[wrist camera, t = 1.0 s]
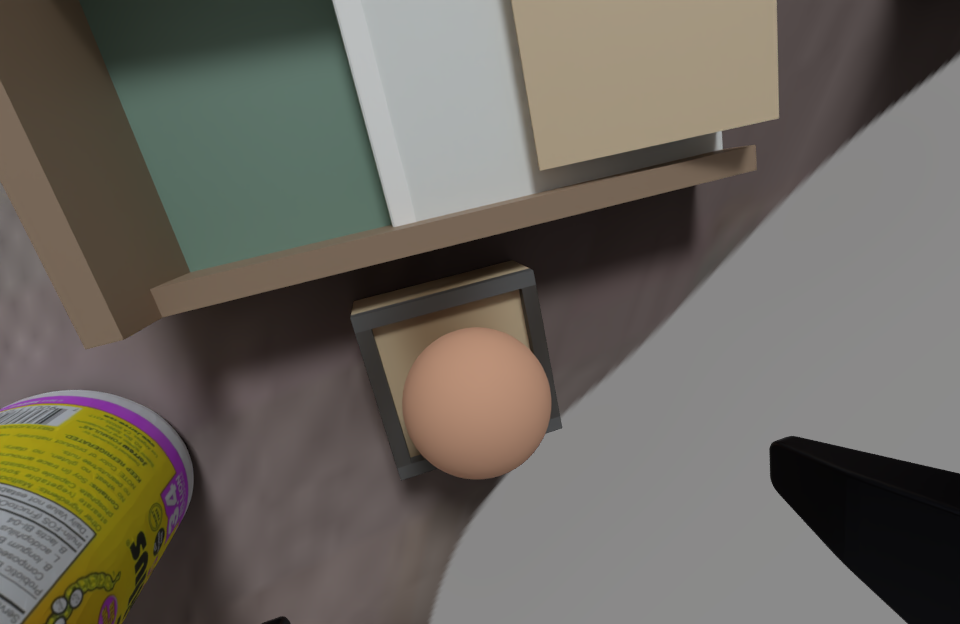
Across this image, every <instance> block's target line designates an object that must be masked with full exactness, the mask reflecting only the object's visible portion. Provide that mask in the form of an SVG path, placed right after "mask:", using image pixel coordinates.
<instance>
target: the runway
mask: <svg viewBox="0 0 960 624" xmlns="http://www.w3.org/2000/svg"><path fill="white" fill-rule="evenodd" d="M777 118H779V97H778V45H777V0H0V181H1V183H2V185H3V187H4V189H5V191H6V193H7V195H8V197H9V199H10V201H11V203H12V205H13V207H14V209H15V211H16V213H17V215H18V217H19V219H20V221H21V223H22V225H23V227H24V229H25V231H26V233H27V235H28V237H29V238H30V240H31V242H32V244H33V246H34V248H35V250H36V252H37V254H38V256H39V258H40V260H41V262H42V264H43V266H44V268H45V270H46V272H47V274H48V276H49V278H50V280H51V282H52V284H53V286H54V288H55V290H56V292H57V294H58V296H59V298H60V300H61V302H62V304H63V306H64V308H65V310H66V312H67V314H68V316H69V318H70V320H71V322H72V324H73V326H74V328H75V330H76V332H77V334H78V336H79V338H80V340H81V342H82V343H83V345H84V347H85V349H89V348H93V347H97V346H101V345H105V344H109V343H113V342H117V341H121V340H124V339H126V338H128V337H129V336H131V335H133V334H135V333H136V332H138V331H140V330H142V329H143V328H145V327H147V326H148V325H150V324H152V323H154V322H155V321H157V320H159V319H161V318H162V317H166V316H170V315H174V314H178V313H182V312H186V311H190V310H194V309H198V308H202V307H207V306H211V305H215V304H219V303H223V302H227V301H231V300H235V299H239V298H243V297H247V296H251V295H255V294H259V293H263V292H267V291H271V290H275V289H279V288H283V287H287V286H291V285H295V284H299V283H303V282H307V281H311V280H315V279H319V278H323V277H327V276H331V275H335V274H339V273H343V272H347V271H351V270H355V269H359V268H364V267H368V266H372V265H376V264H380V263H384V262H388V261H392V260H396V259H400V258H404V257H408V256H412V255H416V254H420V253H424V252H428V251H432V250H436V249H440V248H444V247H448V246H452V245H456V244H460V243H464V242H468V241H472V240H476V239H480V238H484V237H488V236H492V235H496V234H500V233H504V232H508V231H512V230H516V229H521V228H525V227H529V226H533V225H537V224H541V223H545V222H549V221H553V220H557V219H561V218H565V217H569V216H573V215H577V214H581V213H585V212H589V211H593V210H597V209H601V208H605V207H609V206H613V205H617V204H621V203H625V202H629V201H633V200H637V199H641V198H645V197H649V196H653V195H657V194H661V193H665V192H669V191H673V190H677V189H682V188H686V187H690V186H694V185H698V184H702V183H706V182H710V181H714V180H718V179H722V178H726V177H730V176H734V175H738V174H742V173H746V172H750V171H754V170H757V168H756V145H750V146H743V147H735V148H728V149H723V148H722V131H723V130H727V129H732V128H737V127H741V126H746V125H750V124H755V123H759V122H764V121H768V120H773V119H777Z"/></svg>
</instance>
